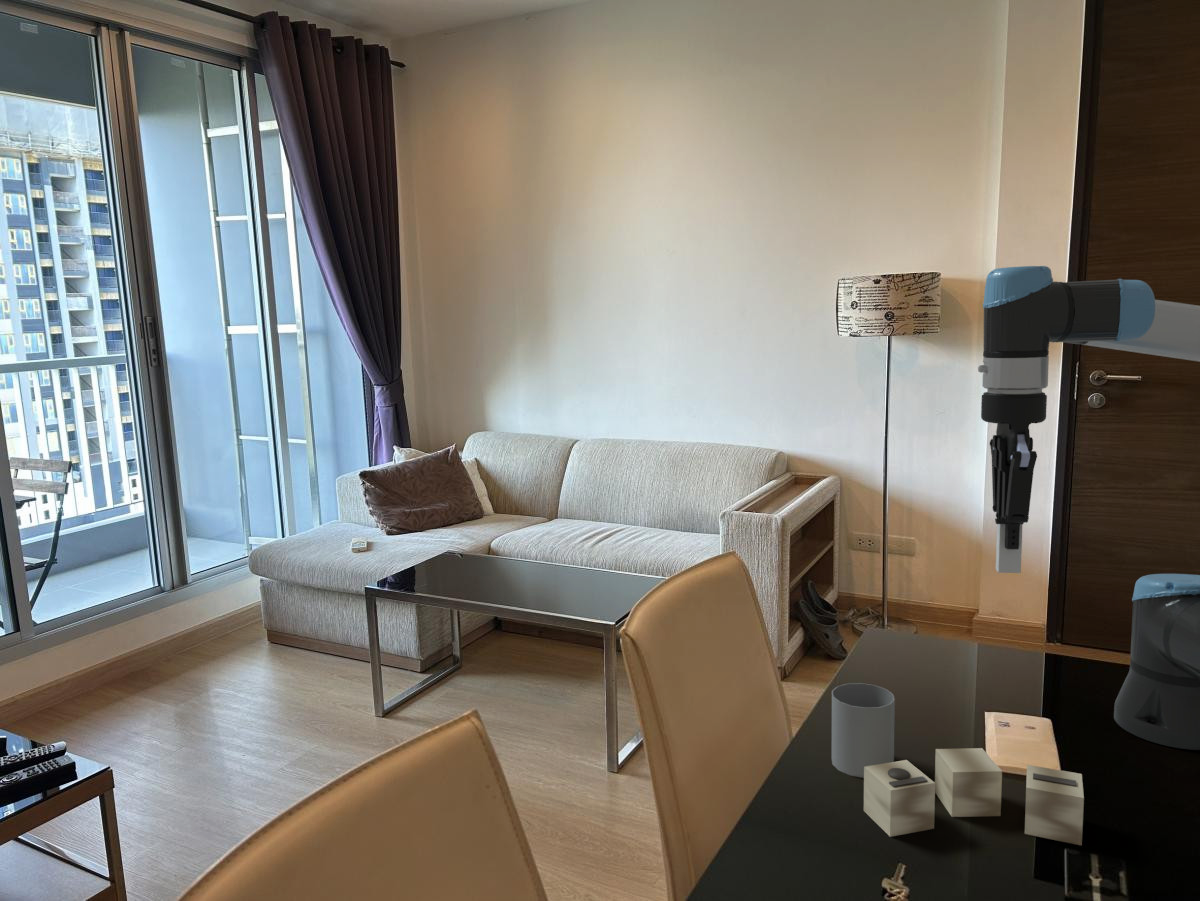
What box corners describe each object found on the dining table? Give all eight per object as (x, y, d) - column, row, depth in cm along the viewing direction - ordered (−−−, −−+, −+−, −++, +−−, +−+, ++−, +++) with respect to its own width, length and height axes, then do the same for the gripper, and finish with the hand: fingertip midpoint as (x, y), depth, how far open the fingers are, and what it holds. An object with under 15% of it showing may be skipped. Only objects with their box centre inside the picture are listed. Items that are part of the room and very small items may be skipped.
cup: (896, 780, 118) (897, 709, 117) (833, 775, 120) (833, 706, 119) (889, 750, 127) (890, 684, 125) (830, 747, 128) (830, 681, 127)
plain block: (980, 791, 115) (982, 748, 114) (1000, 816, 109) (1002, 771, 108) (934, 792, 115) (935, 749, 114) (951, 817, 109) (953, 772, 109)
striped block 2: (1079, 819, 108) (1081, 772, 107) (1081, 846, 103) (1083, 796, 102) (1025, 809, 111) (1027, 763, 110) (1024, 834, 105) (1026, 785, 104)
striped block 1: (905, 803, 113) (906, 758, 112) (934, 829, 107) (935, 781, 106) (863, 811, 111) (864, 765, 110) (890, 837, 106) (890, 788, 105)
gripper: (971, 387, 119) (967, 557, 122) (994, 395, 106) (989, 584, 109) (1031, 386, 117) (1025, 558, 120) (1062, 394, 105) (1054, 586, 108)
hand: (1008, 571), depth 115 cm, fingers closed
